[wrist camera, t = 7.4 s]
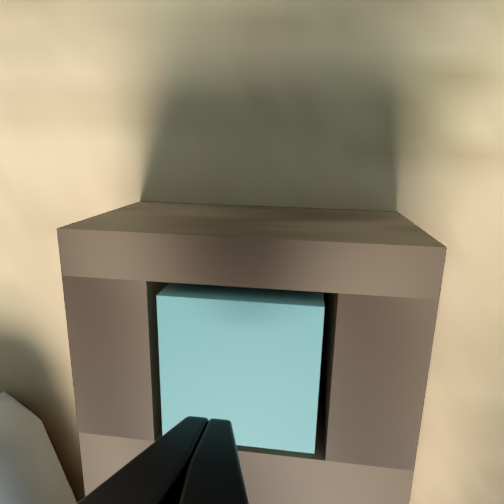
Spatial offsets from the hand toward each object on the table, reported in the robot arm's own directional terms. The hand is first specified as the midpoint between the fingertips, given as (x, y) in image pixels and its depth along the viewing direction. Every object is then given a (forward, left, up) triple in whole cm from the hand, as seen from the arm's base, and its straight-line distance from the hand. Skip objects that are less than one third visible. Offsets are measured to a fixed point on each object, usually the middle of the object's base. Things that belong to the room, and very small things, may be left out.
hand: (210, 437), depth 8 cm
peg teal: (0, 0, -7) cm, 7 cm away
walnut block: (0, +5, -8) cm, 9 cm away
